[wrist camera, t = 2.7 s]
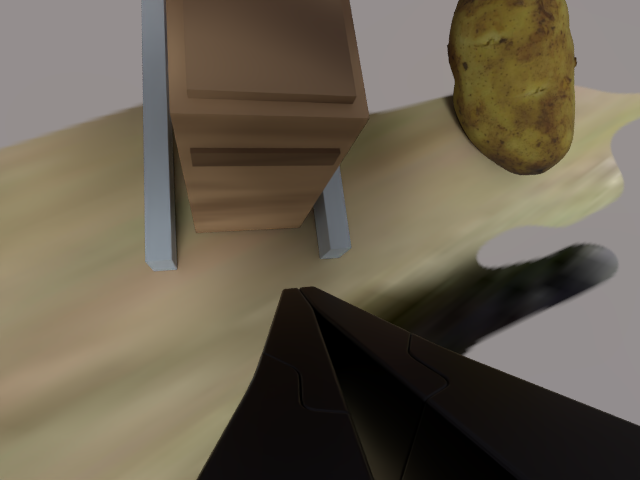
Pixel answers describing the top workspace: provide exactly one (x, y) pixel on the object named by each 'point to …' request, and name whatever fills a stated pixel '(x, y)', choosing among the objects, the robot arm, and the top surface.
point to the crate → (261, 106)
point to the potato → (514, 80)
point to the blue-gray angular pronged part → (161, 164)
